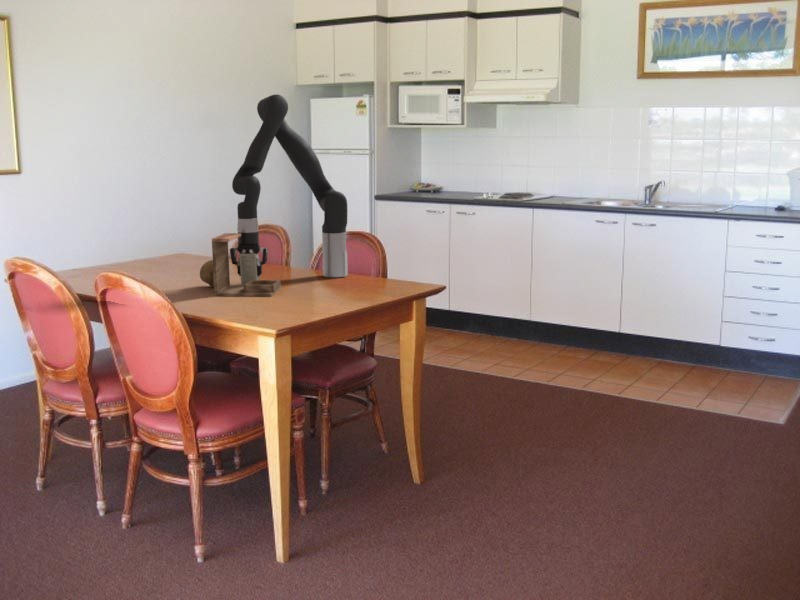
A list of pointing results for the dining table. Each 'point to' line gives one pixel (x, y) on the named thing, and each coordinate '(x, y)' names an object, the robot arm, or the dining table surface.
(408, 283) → the dining table surface
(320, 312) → the dining table surface
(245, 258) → the skincare box
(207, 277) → the natural sponge
